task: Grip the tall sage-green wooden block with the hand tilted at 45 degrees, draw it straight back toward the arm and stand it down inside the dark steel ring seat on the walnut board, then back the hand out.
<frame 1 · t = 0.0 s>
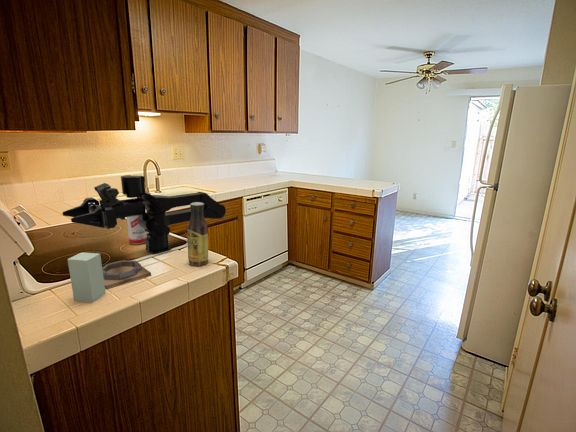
hand: (66, 216, 89), 17 cm above the worktop, tool horizontal, fingers open, 9 cm apart
beer can: (138, 243, 118), on the worktop
sauce bottle: (198, 263, 101), on the worktop
seat board: (121, 275, 91), on the worktop
sage block: (90, 297, 79), on the worktop
seat ring: (120, 269, 90), on the seat board, point 1 cm above the worktop
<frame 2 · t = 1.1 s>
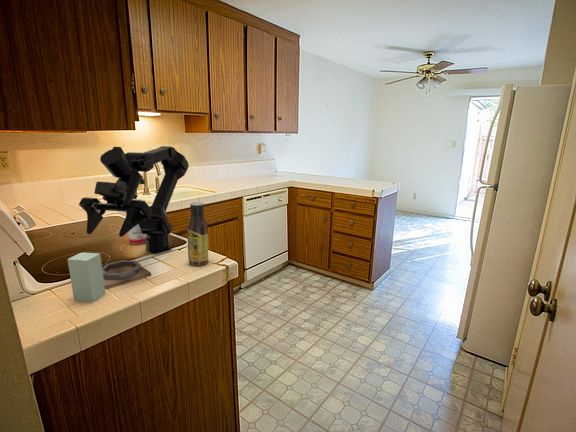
hand: (104, 234, 83), 14 cm above the worktop, tool tilted 45°, fingers open, 9 cm apart
nothing on the worktop moved.
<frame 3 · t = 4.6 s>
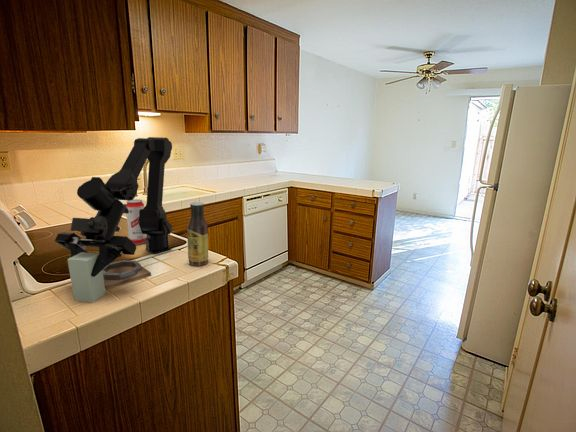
hand: (82, 275, 76), 7 cm above the worktop, tool tilted 45°, fingers closed on sage block, 5 cm apart
sage block: (90, 296, 79), on the worktop, touching gripper
everything else where it was.
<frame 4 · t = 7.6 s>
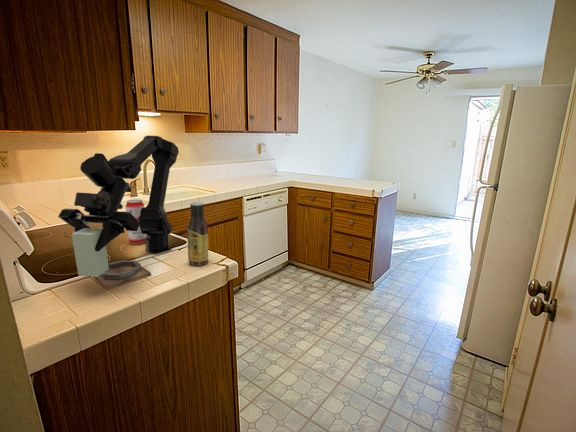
hand: (86, 250, 77), 12 cm above the worktop, tool tilted 45°, fingers closed on sage block, 5 cm apart
sage block: (94, 272, 80), point 6 cm above the worktop, touching gripper
everything else where it was.
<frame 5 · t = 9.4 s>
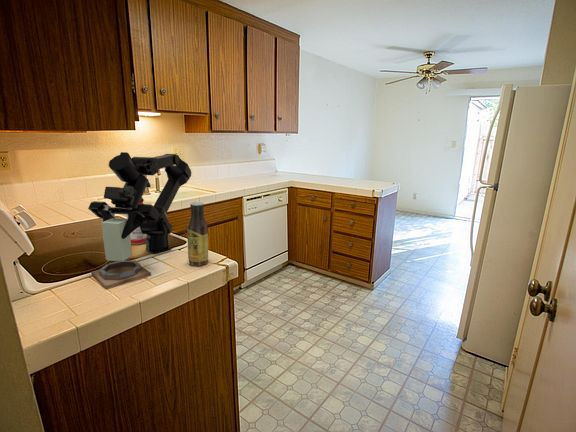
hand: (113, 237, 86), 12 cm above the worktop, tool tilted 45°, fingers closed on sage block, 5 cm apart
sage block: (119, 257, 89), point 5 cm above the worktop, touching gripper
everything else where it was.
when the fingers open (9 cm above the worktop, at t = 10.7 s): sage block stays where it is, resting on seat board.
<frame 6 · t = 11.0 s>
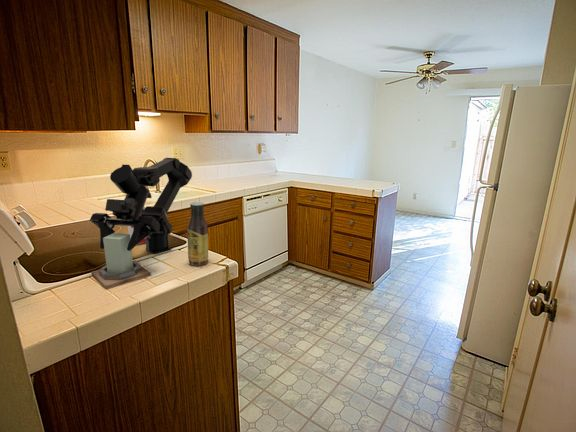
hand: (114, 249, 87), 9 cm above the worktop, tool tilted 45°, fingers open, 8 cm apart
sage block: (120, 272, 91), point 1 cm above the worktop, touching seat board
everything else where it was.
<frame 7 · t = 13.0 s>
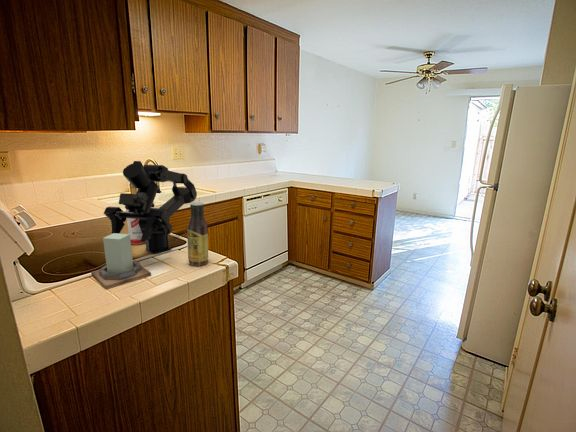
hand: (127, 240, 93), 9 cm above the worktop, tool tilted 45°, fingers open, 9 cm apart
nothing on the worktop moved.
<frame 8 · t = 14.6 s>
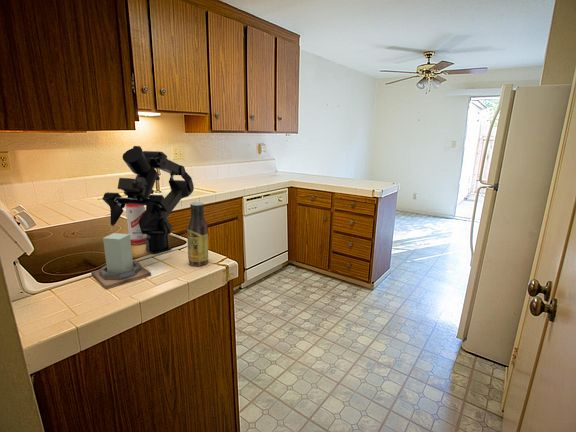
hand: (126, 226, 92), 14 cm above the worktop, tool tilted 45°, fingers open, 9 cm apart
nothing on the worktop moved.
at the end: sage block 0.0 cm off-centre on the seat board, point 1.0 cm above the seat board's base; sage block tilted 0°; the gripper is holding nothing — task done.
